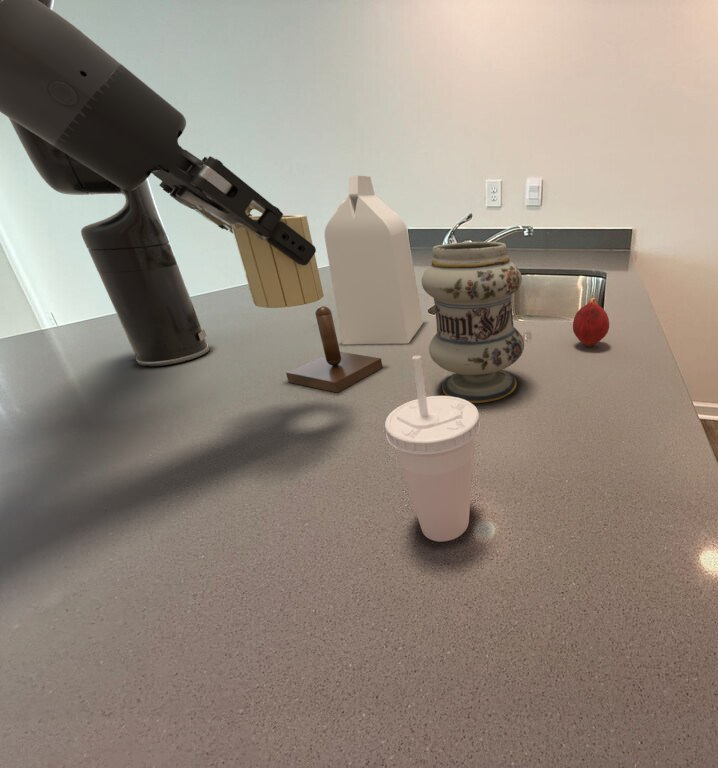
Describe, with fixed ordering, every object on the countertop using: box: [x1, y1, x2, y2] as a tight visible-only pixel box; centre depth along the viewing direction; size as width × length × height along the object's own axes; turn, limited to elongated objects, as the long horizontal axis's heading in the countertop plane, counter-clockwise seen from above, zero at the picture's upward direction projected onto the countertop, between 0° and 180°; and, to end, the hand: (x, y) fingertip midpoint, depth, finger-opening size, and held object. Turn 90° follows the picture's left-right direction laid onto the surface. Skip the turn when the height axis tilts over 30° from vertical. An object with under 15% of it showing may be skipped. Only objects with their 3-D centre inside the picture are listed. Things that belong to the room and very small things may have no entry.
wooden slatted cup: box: [232, 214, 324, 309], centre depth 40 cm, size 6×6×8 cm
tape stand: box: [285, 305, 384, 393], centre depth 56 cm, size 9×9×10 cm
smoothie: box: [384, 355, 481, 542], centre depth 29 cm, size 6×6×14 cm
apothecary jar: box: [421, 241, 525, 404], centre depth 50 cm, size 12×12×18 cm
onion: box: [572, 297, 610, 347], centre depth 65 cm, size 6×6×8 cm
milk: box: [324, 175, 424, 346], centre depth 70 cm, size 12×12×26 cm
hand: (295, 254), depth 41 cm, fingers closed on wooden slatted cup, 6 cm apart
